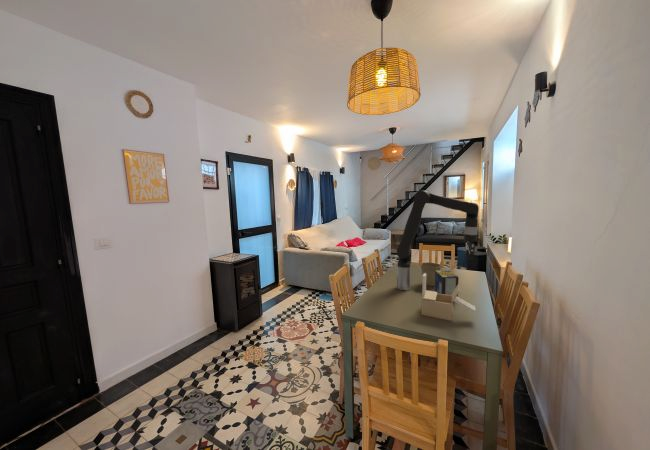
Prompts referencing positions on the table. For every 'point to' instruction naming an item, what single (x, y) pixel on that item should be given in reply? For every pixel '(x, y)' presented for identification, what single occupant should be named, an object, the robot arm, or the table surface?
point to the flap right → (460, 301)
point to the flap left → (427, 294)
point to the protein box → (445, 282)
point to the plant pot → (430, 272)
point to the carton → (438, 307)
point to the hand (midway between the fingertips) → (469, 257)
